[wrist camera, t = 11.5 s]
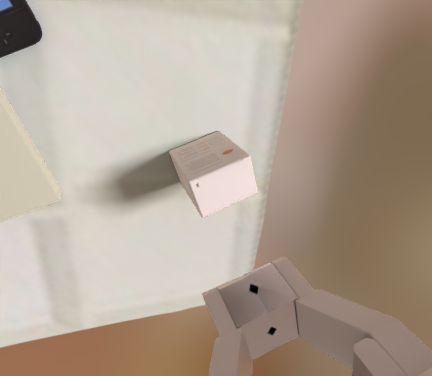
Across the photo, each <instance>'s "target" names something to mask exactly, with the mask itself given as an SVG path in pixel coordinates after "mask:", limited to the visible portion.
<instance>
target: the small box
mask: <svg viewBox="0 0 432 376" xmlns="http://www.w3.org/2000/svg"><path fill="white" fill-rule="evenodd" d="M169 154H170V156H171V159H172V161H173V164H174V167H175V169H176V172H177V174H178V177H179V179H180V182H181V184H182V185H183V187H184V189H185V190H186V192H187V194H188V195H189V197H190V199H191V200H192V202H193V204H194V205H195V207H196V209H197V210H198V212H199V213H200V215H201V216H202V218H204V217H206V216H208V215H210V214H213V213H215V212H217V211H219V210H221V209H223V208H226V207H228V206H230V205H232V204H234V203H236V202H239V201H241V200H243V199H245V198H247V197H250V196H252V195H254V194H256V193H258V190H257V185H256V180H255V176H254V171H253V166H252V162H251V157H250V155H249V154H248V153H246V152H245V151H244V150H243V149H241V148H240V147H239V146H238V145H236V144H235V143H234V142H232V141H231V140H230V139H229V138H227V137H226V136H225V135H223V134H222V133H221V132H220V131H217V132H214V133H212V134H209V135H207V136H204V137H202V138H200V139H197V140H195V141H192V142H190V143H187V144H185V145H182V146H180V147H178V148H175V149H173V150H170V151H169Z"/></svg>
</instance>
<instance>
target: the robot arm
mask: <svg viewBox="0 0 432 376" xmlns="http://www.w3.org/2000/svg"><path fill="white" fill-rule="evenodd" d="M202 295H203V298H204V300H205V303H206V306H207V309H208V311H209V314H210V317H211V319H212V322H213V325H214V327H215V330H216V333H217V335H218V337H219V338H217V339H216V340H215V344H214V350H213V355H212V360H211V365H210V370H209V376H252V364H253V363H252V360H254V359H256V358H257V357H259V356H261V355H263V354H265V353H266V352H268V351H270V350H272V349H274V348H276V347H278V346H280V345H282V344H284V343H286V342H288V341H290V340H292V339H294V338H297V337H300V338H301V339H303V340H304V341H306V342H308V343H309V344H311V345H313V346H314V347H316V348H318V349H319V350H321V351H323V352H324V353H326V354H328V355H329V356H331V357H333V358H334V359H336V360H338V361H339V362H341V363H343V364H344V365H346V366H348V367H349V368H351V369H353V372H352V376H432V351H431V350H429V349H428V348H427V347H426V346H425V345H424V344H423V343H422V342H421V341H420V340H419V339H418V338H417V337H416V336H415V335H414V334H413V333H412V332H411V331H410V330H409V329H408V328H407V327H406V326H404V325H403V324H402V323H401V322H400V321H399V320H398V319H396V318H393V317H391V316H388V315H386V314H383V313H380V312H377V311H375V310H372V309H370V308H367V307H365V306H362V305H359V304H357V303H354V302H352V301H349V300H346V299H344V298H341V297H338V296H336V295H333V294H331V293H328V292H325V291H323V290H320V289H317V290H315V291H314V289H313V288H312V287H311V286H310V285H309V283H308V282H307V281H306V280H305V279H304V278H303V276H302V275H301V274H300V273H299V272H298V271H297V270H296V268H295V267H294V266H293V265H292V263H291V262H290V261H289V260H288V259H287V258H286V257H281V258H279V259H277V260H275V261H273V262H271V263H268V264H265V265H263V266H261V267H259V268H257V269H255V270H253V271H251V272H249V273H246V274H244V275H243V276H241V277H239V278H236V279H234V280H232V281H229V282H227V283H224V284H222V285H220V286H217V287H215V288H213V289H211V290H209V291H206V292H204V293H202Z"/></svg>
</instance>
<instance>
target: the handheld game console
mask: <svg viewBox="0 0 432 376" xmlns="http://www.w3.org/2000/svg"><path fill="white" fill-rule="evenodd" d="M41 37H42V30H41V27H40V24H39V23H38V21H37V20H36V18H35V16H34V14H33V12H32V10H31V9H30V7H29V5H28V4H27V2H26V0H0V58H1V57H3V56H6V55H8V54H11V53H14V52H16V51H19V50H21V49H24V48H27V47H29V46H32V45H34V44H36V43H37V42H39V41H40V39H41Z"/></svg>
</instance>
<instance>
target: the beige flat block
mask: <svg viewBox="0 0 432 376" xmlns="http://www.w3.org/2000/svg"><path fill="white" fill-rule="evenodd" d="M61 195H62V191H61V189H60V187H59V186H58V184H57V182H56V181H55V179H54V177H53V175H52V174H51V172H50V170H49V169H48V167H47V165H46V164H45V162H44V160H43V158H42V157H41V155H40V153H39V152H38V150H37V148H36V147H35V145H34V143H33V141H32V140H31V138H30V136H29V135H28V133H27V131H26V130H25V128H24V126H23V124H22V123H21V121H20V119H19V118H18V116H17V114H16V113H15V111H14V109H13V107H12V106H11V104H10V102H9V101H8V99H7V97H6V96H5V94H4V92H3V90H2V89H1V87H0V222H3V221H5V220H8V219H11V218H14V217H17V216H19V215H22V214H25V213H28V212H30V211H33V210H36V209H39V208H42V207H44V206H47V205H50V204H53V203H56V202H58V201H60V200H61Z"/></svg>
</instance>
